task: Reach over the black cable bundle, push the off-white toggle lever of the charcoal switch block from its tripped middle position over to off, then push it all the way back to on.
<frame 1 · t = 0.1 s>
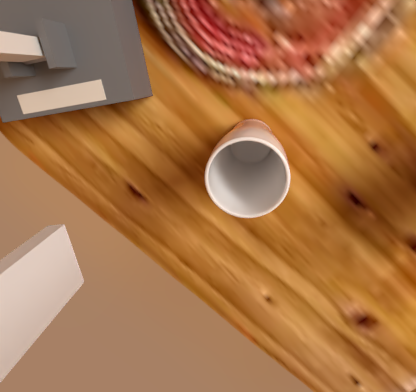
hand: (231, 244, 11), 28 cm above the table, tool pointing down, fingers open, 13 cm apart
toggle lever: (0, 47, 26), point 12 cm above the table, hinge at 0.0°
switch block: (78, 54, 37), on the table
tall cup: (251, 140, 38), on the table
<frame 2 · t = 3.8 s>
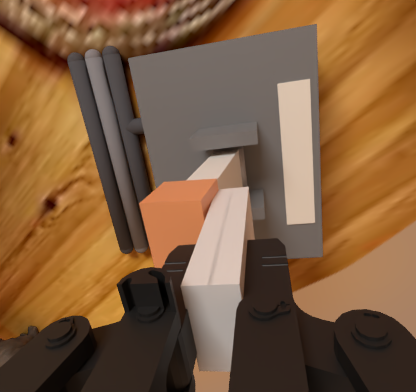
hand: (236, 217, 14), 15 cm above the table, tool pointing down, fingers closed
toggle lever: (214, 196, 17), point 12 cm above the table, hinge at -6.8°, touching gripper
cable bundle: (122, 160, 30), on the table
switch block: (237, 146, 28), on the table
rhino figurine: (31, 332, 41), on the table
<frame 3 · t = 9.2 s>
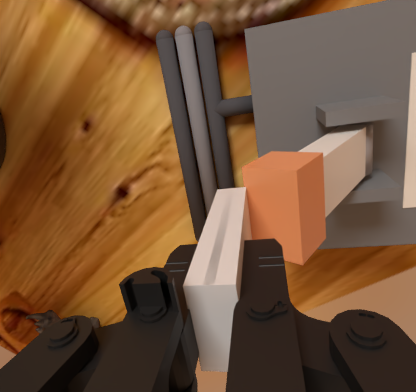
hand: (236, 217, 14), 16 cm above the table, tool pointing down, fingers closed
toggle lever: (325, 172, 16), point 11 cm above the table, hinge at -31.5°, touching gripper
cable bundle: (204, 144, 29), on the table
switch block: (330, 128, 26), on the table
rhino figurine: (91, 323, 40), on the table
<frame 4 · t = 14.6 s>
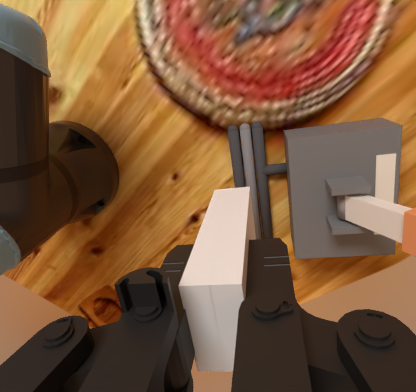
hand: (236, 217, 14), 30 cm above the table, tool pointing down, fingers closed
toggle lever: (381, 216, 32), point 11 cm above the table, hinge at 32.3°
cable bundle: (252, 190, 45), on the table
switch block: (332, 182, 43), on the table
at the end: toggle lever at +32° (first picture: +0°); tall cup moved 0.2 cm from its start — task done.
